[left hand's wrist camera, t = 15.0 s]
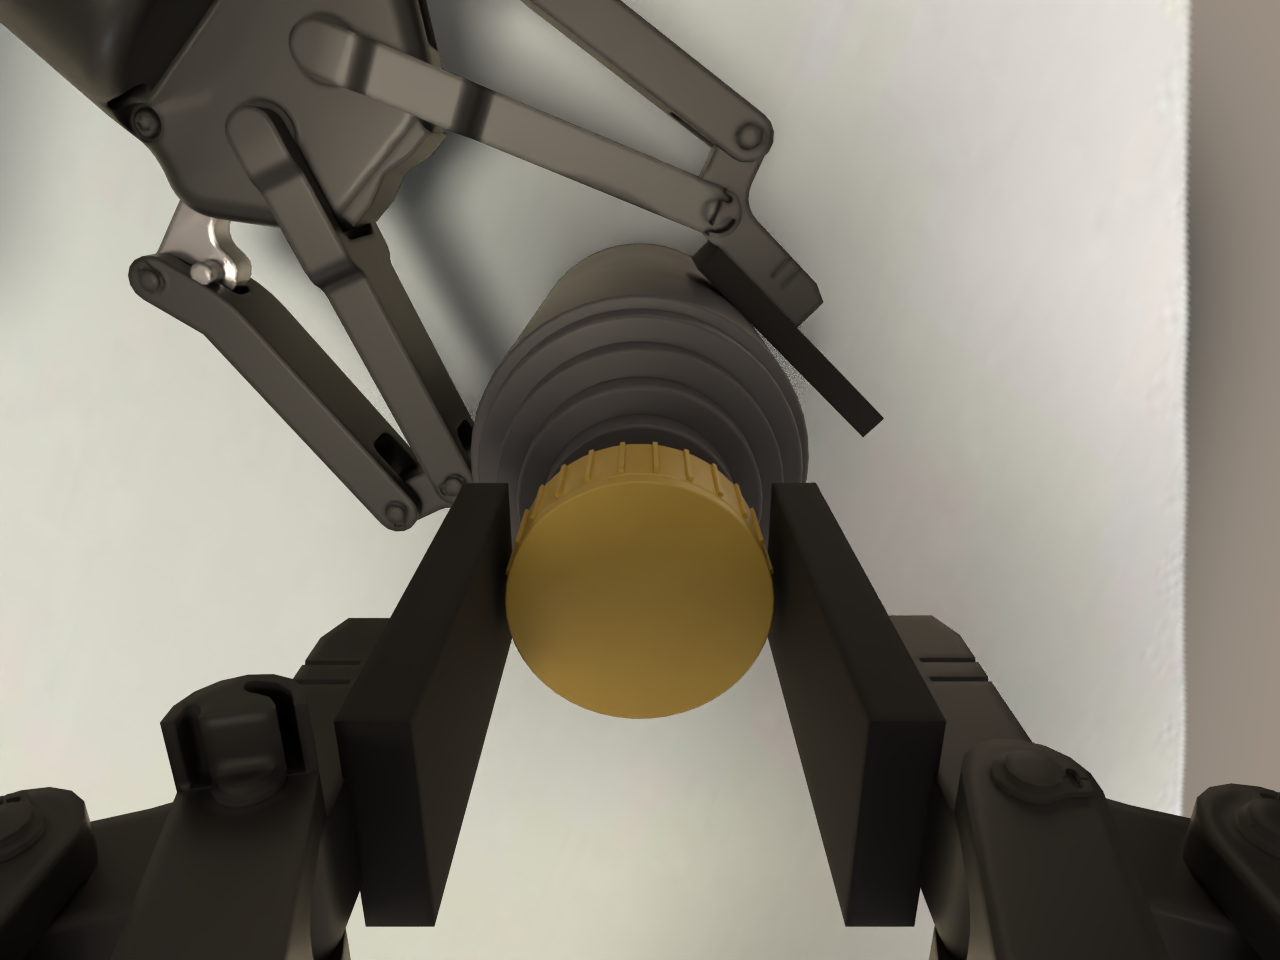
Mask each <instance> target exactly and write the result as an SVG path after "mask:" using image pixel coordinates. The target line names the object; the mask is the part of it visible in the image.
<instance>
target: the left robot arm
mask: <svg viewBox="0 0 1280 960" xmlns="http://www.w3.org/2000/svg"><path fill="white" fill-rule="evenodd" d="M511 554H512V537H511V521H510V504H509V487H508V483H464V484H463V486H462V488H461V490H460V492H459V494H458V495H457V497H456V499H455V501H454V503H453V504H452V506H451V508H450V510H449V512H448V514H447V515H446V517H445V519H444V521H443V523H442V524H441V526H440V528H439V530H438V532H437V534H436V535H435V537H434V539H433V541H432V543H431V545H430V546H429V548H428V550H427V552H426V554H425V555H424V557H423V559H422V561H421V563H420V565H419V566H418V568H417V570H416V572H415V574H414V576H413V577H412V579H411V581H410V583H409V585H408V586H407V588H406V590H405V592H404V594H403V596H402V597H401V599H400V601H399V603H398V605H397V607H396V608H395V610H394V612H393V614H392V616H391V617H390V618H348V619H347V620H345V621H344V622H342V623H341V624H340V625H338V626H337V627H335V628H334V629H332V630H331V631H330V632H328V633H327V634H325V635H324V636H322V637H321V638H320V640H319V641H318V643H317V644H316V645H315V647H314V648H313V650H312V651H311V653H310V654H309V656H308V657H307V659H306V660H305V665H302V666H301V668H300V669H299V671H298V672H297V674H296V675H295V677H294V678H293V679H290V678H286V677H283V676H279V675H275V674H260V675H245V676H240V677H236V678H231V679H227V680H222V681H219V682H217V683H214V684H212V685H209V686H207V687H205V688H202V689H200V690H197V691H195V692H193V693H192V694H190V695H189V696H188V697H186V698H185V699H183V700H182V701H180V702H179V703H177V704H176V705H174V706H173V707H172V708H171V710H170V711H169V712H168V713H167V715H166V716H165V717H164V718H163V720H162V721H161V722H160V725H161V729H162V733H163V737H164V741H165V745H166V749H167V753H168V757H169V761H170V765H171V769H172V774H173V778H174V782H175V786H176V790H177V794H176V796H175V799H174V801H173V802H172V803H168V804H165V805H161V806H158V807H155V808H151V809H147V810H142V811H137V812H133V813H128V814H124V815H119V816H115V817H110V818H106V819H101V820H96V821H92V822H90V820H89V816H88V813H87V810H86V806H85V803H84V801H83V800H82V799H81V798H80V797H78V796H77V795H76V794H75V793H74V792H73V791H70V790H64V789H58V788H52V787H46V788H37V789H29V790H21V791H18V792H14V793H11V794H7V795H5V796H0V960H351V959H350V952H349V945H348V939H347V933H346V925H347V923H348V920H349V918H350V915H351V912H352V910H353V907H354V905H355V902H356V899H357V897H358V894H359V892H360V893H361V899H362V905H363V912H364V918H365V925H366V927H434V926H435V922H436V919H437V915H438V911H439V907H440V904H441V900H442V896H443V893H444V889H445V885H446V881H447V878H448V874H449V870H450V867H451V863H452V859H453V855H454V852H455V848H456V844H457V841H458V837H459V833H460V829H461V826H462V822H463V818H464V815H465V811H466V807H467V803H468V800H469V796H470V792H471V789H472V785H473V781H474V777H475V774H476V770H477V766H478V763H479V759H480V755H481V751H482V748H483V744H484V740H485V737H486V733H487V729H488V725H489V722H490V718H491V714H492V711H493V707H494V703H495V699H496V696H497V692H498V688H499V685H500V681H501V677H502V673H503V670H504V666H505V662H506V659H507V655H508V651H509V647H510V644H511V640H512V636H511V633H510V630H509V626H508V622H507V617H506V608H505V591H506V582H507V577H508V575H506V569H507V566H508V563H509V560H510V557H511ZM768 555H769V558H770V561H771V564H772V567H773V572H774V573H772V574H771V576H772V580H773V587H774V613H773V618H772V623H771V628H770V631H769V634H768V640H769V644H770V647H771V651H772V655H773V659H774V662H775V666H776V670H777V673H778V677H779V681H780V685H781V688H782V692H783V696H784V699H785V703H786V707H787V711H788V714H789V718H790V722H791V725H792V729H793V733H794V737H795V740H796V744H797V748H798V751H799V755H800V759H801V763H802V766H803V770H804V774H805V777H806V781H807V785H808V789H809V792H810V796H811V800H812V803H813V807H814V811H815V815H816V818H817V822H818V826H819V829H820V833H821V837H822V841H823V844H824V848H825V852H826V855H827V859H828V863H829V867H830V870H831V874H832V878H833V881H834V885H835V889H836V893H837V896H838V900H839V904H840V907H841V911H842V915H843V919H844V922H845V926H846V927H914V925H915V918H916V912H917V905H918V899H919V893H920V887H921V890H922V893H923V895H924V898H925V900H926V903H927V906H928V908H929V911H930V913H931V916H932V918H933V921H934V924H935V927H934V933H933V939H932V945H931V951H930V957H929V960H1280V792H1279V793H1278V792H1275V791H1273V790H1269V789H1265V788H1262V787H1257V786H1248V785H1240V784H1225V785H1220V786H1214V787H1209V788H1208V789H1207V790H1206V791H1204V792H1203V793H1202V794H1201V795H1200V796H1198V797H1197V800H1196V803H1195V806H1194V810H1193V813H1192V816H1191V818H1186V817H1182V816H1177V815H1172V814H1168V813H1163V812H1159V811H1154V810H1150V809H1145V808H1140V807H1136V806H1131V805H1127V804H1124V803H1120V802H1117V801H1113V800H1110V799H1107V798H1105V795H1104V793H1103V791H1102V789H1101V788H1100V786H1099V785H1098V783H1097V782H1096V780H1095V779H1094V778H1093V776H1092V775H1091V773H1089V772H1088V771H1087V770H1086V769H1084V768H1083V767H1082V766H1080V765H1079V764H1078V763H1077V762H1075V761H1074V760H1073V759H1071V758H1070V757H1068V756H1066V755H1064V754H1061V753H1059V752H1057V751H1055V750H1053V749H1051V748H1049V747H1047V746H1044V745H1040V744H1036V743H1032V741H1031V740H1030V738H1029V737H1028V735H1027V734H1026V732H1025V731H1024V729H1023V728H1022V726H1021V725H1020V723H1019V722H1018V720H1017V719H1016V717H1015V716H1014V715H1013V713H1012V712H1011V710H1010V709H1009V707H1008V706H1007V704H1006V703H1005V701H1004V700H1003V698H1002V697H1001V695H1000V694H999V692H998V691H997V689H996V688H995V686H994V685H993V684H992V682H988V676H987V675H986V673H985V672H984V670H983V669H982V667H981V666H980V664H979V663H978V662H975V657H974V655H973V654H972V652H971V651H970V650H969V648H968V647H967V645H966V644H965V642H964V641H963V639H962V638H961V636H960V635H959V634H957V633H956V632H955V631H953V630H952V629H950V628H949V627H947V626H946V625H945V624H943V623H942V622H940V621H939V620H937V619H936V618H935V617H933V616H888V614H887V612H886V610H885V608H884V606H883V605H882V603H881V601H880V599H879V597H878V596H877V594H876V592H875V590H874V588H873V586H872V585H871V583H870V581H869V579H868V577H867V576H866V574H865V572H864V570H863V568H862V566H861V565H860V563H859V561H858V559H857V557H856V555H855V554H854V552H853V550H852V548H851V546H850V545H849V543H848V541H847V539H846V537H845V535H844V534H843V532H842V530H841V528H840V526H839V524H838V523H837V521H836V519H835V517H834V515H833V514H832V512H831V510H830V508H829V506H828V504H827V503H826V501H825V499H824V497H823V495H822V493H821V492H820V490H819V488H818V486H817V484H816V483H772V487H771V504H770V521H769V537H768Z"/></svg>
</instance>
